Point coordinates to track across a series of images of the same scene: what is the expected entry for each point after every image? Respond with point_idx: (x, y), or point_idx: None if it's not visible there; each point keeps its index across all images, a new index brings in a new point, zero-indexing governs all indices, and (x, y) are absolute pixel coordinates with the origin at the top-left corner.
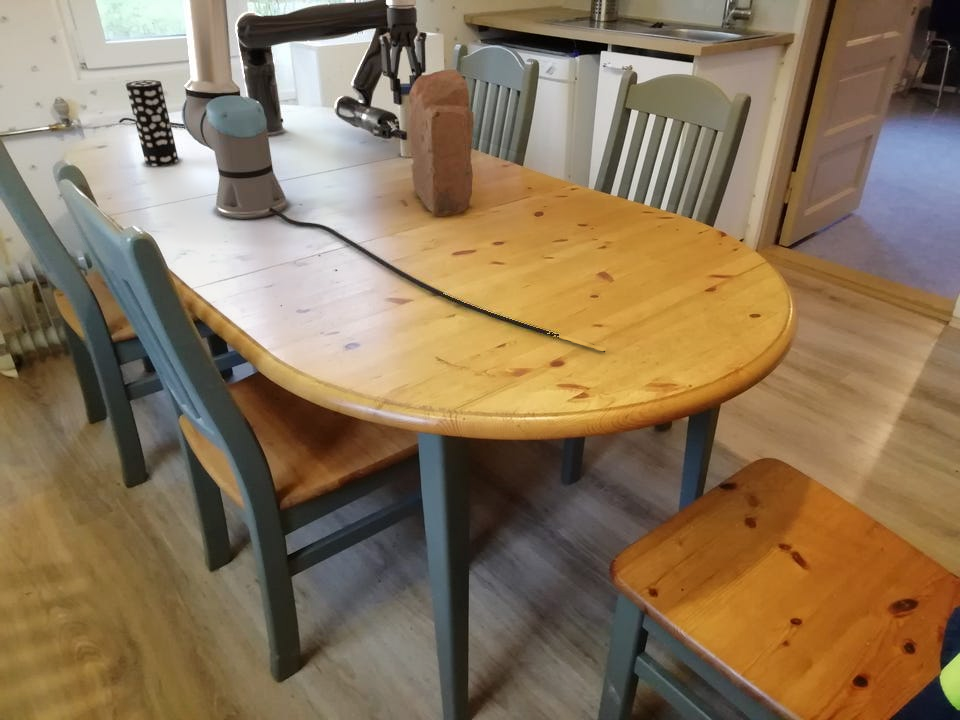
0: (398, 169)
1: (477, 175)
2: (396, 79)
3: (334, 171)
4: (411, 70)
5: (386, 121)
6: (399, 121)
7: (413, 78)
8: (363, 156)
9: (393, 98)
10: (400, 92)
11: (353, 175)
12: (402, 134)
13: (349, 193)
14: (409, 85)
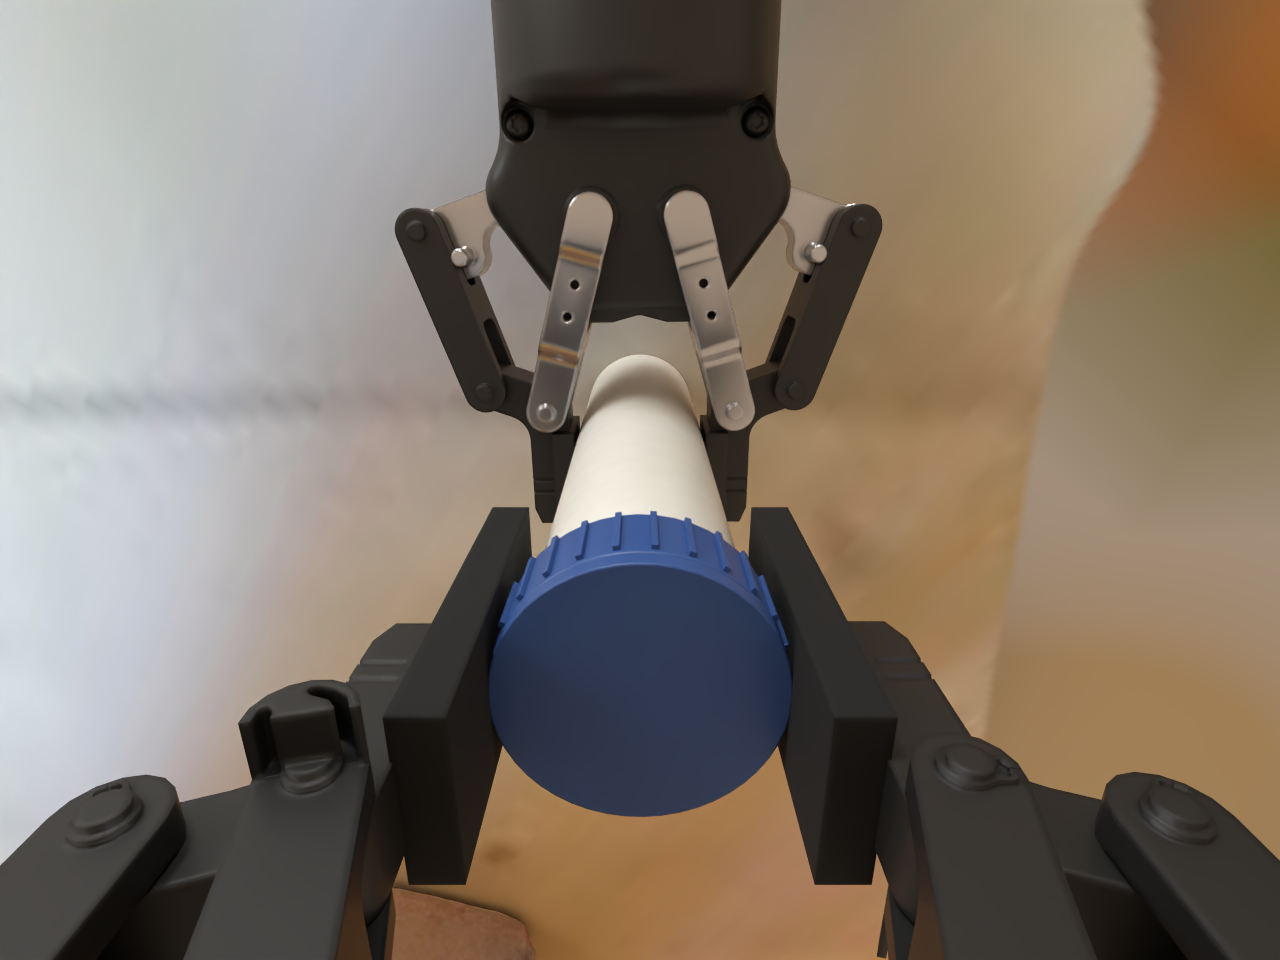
0: (438, 604)
1: (726, 871)
2: (406, 838)
3: (67, 425)
4: (918, 823)
5: (607, 119)
6: (571, 461)
7: (810, 817)
8: (355, 237)
9: (479, 533)
10: None
11: (158, 553)
12: (549, 518)
13: (62, 761)
14: (686, 753)
